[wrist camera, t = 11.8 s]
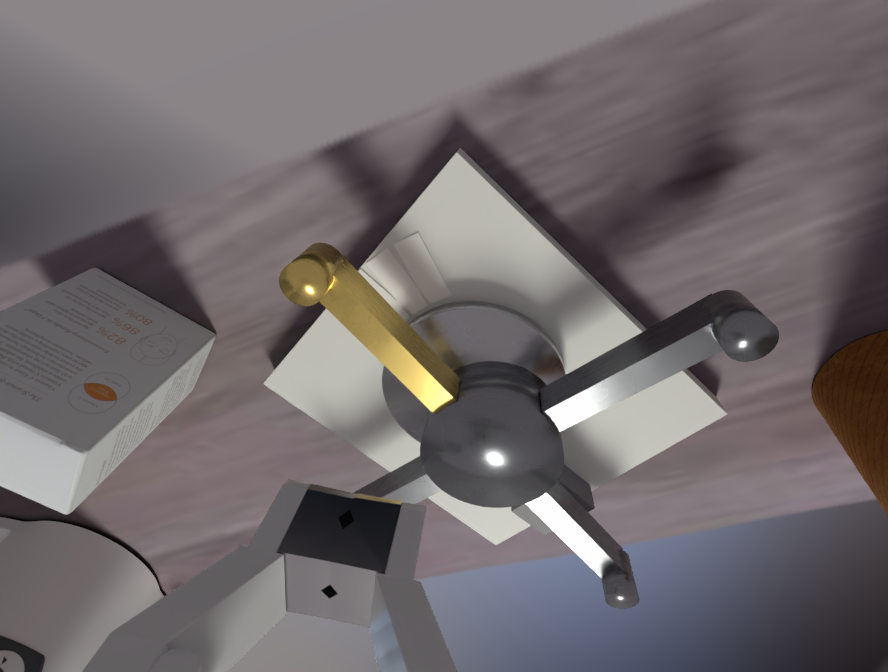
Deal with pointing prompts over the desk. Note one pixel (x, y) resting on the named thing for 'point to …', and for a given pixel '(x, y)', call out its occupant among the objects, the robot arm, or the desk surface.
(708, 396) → the stand
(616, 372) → the capstan
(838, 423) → the disposable coffee cup
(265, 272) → the desk surface
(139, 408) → the small box
